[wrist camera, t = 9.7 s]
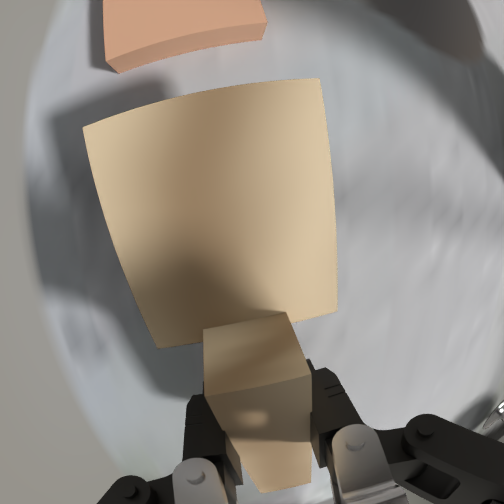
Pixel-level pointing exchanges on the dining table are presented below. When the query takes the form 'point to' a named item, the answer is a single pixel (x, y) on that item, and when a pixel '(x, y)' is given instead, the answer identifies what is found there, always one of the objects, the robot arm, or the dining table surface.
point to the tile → (175, 28)
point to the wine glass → (495, 415)
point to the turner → (230, 248)
